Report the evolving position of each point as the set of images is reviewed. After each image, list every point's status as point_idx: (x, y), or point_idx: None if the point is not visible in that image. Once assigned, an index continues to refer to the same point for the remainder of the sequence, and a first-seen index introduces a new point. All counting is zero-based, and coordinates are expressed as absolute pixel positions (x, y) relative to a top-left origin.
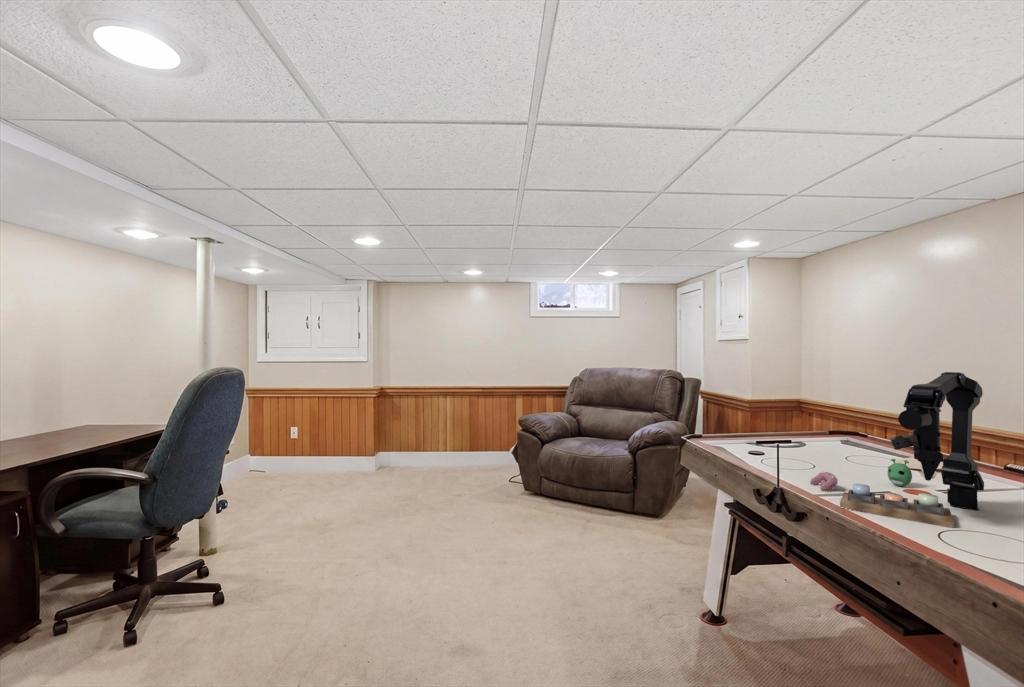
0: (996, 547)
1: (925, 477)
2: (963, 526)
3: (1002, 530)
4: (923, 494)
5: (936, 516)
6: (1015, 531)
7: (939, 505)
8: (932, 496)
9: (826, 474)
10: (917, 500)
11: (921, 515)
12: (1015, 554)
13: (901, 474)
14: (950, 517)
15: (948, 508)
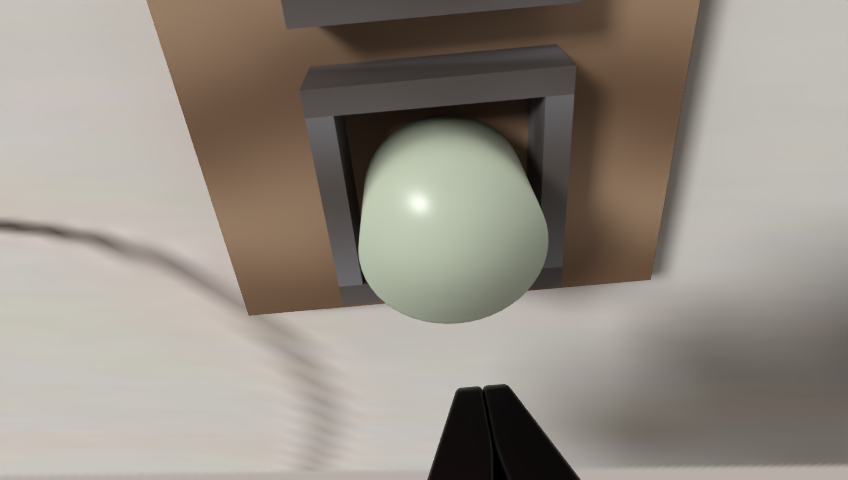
0: (47, 430)
1: (449, 426)
2: (366, 317)
3: None
4: (465, 212)
5: (272, 228)
6: None
7: None
8: (429, 286)
9: None
10: (542, 104)
11: (191, 135)
12: (11, 475)
13: None
14: (338, 298)
15: (648, 273)
